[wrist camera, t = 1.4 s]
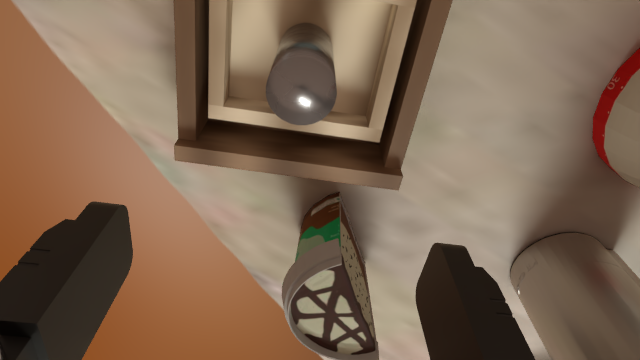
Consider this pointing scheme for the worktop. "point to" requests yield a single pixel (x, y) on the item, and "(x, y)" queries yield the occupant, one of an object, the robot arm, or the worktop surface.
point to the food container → (330, 287)
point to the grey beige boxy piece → (306, 63)
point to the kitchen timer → (620, 122)
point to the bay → (296, 146)
